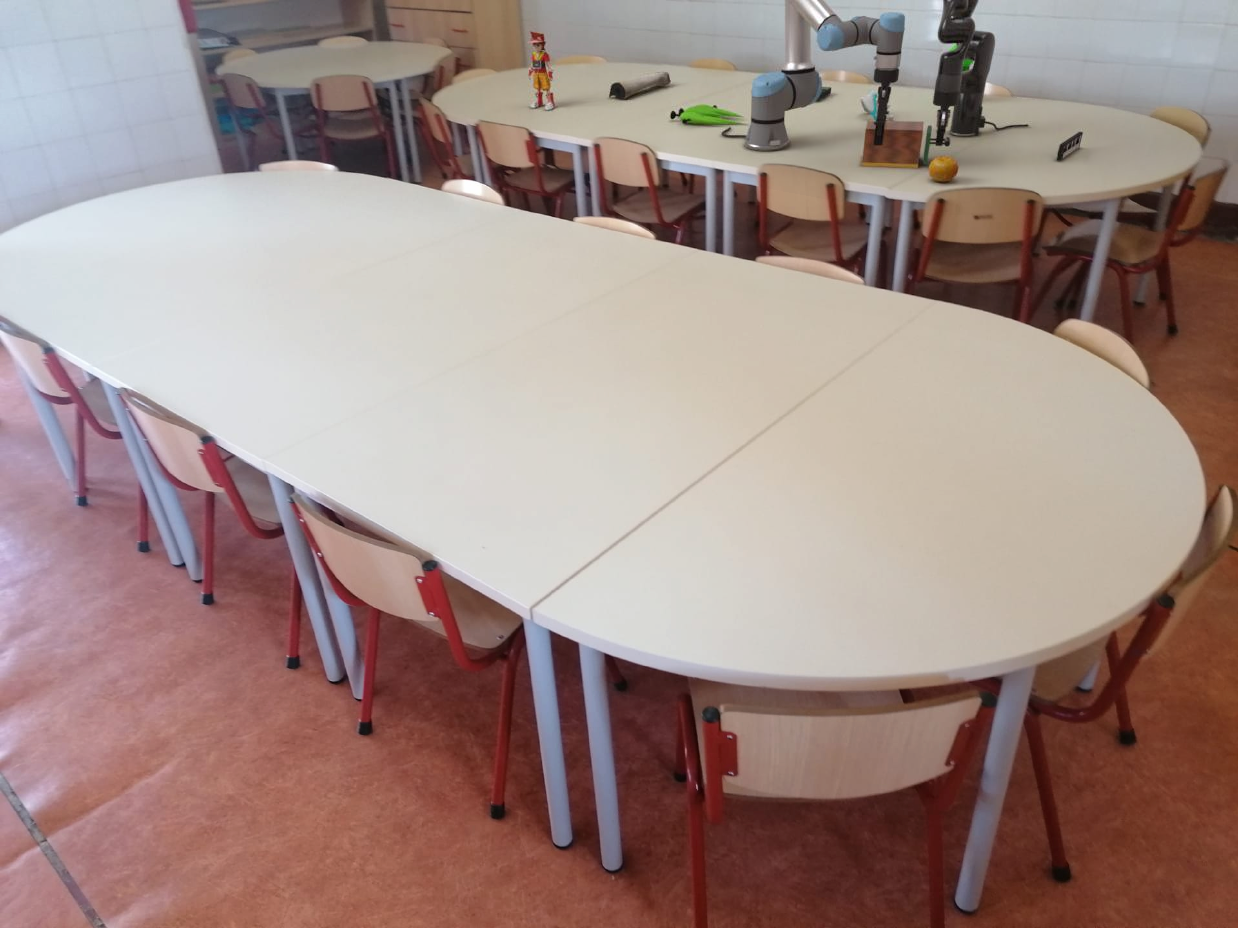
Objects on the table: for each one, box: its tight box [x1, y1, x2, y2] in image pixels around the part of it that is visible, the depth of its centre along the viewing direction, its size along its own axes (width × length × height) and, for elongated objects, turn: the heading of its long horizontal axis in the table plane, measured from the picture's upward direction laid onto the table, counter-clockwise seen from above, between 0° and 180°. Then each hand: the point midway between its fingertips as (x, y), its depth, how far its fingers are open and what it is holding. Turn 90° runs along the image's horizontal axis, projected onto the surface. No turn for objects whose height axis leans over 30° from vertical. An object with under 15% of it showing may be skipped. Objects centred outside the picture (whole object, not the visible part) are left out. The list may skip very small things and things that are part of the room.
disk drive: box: [815, 86, 832, 102], centre depth 372 cm, size 10×3×15 cm
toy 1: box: [527, 31, 556, 111], centre depth 374 cm, size 12×9×30 cm
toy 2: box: [669, 104, 746, 125], centre depth 349 cm, size 28×5×30 cm
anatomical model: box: [860, 90, 895, 121], centre depth 340 cm, size 15×10×10 cm
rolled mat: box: [608, 71, 672, 101], centre depth 395 cm, size 30×9×10 cm
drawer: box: [919, 125, 951, 165], centre depth 291 cm, size 23×9×10 cm, turn 73°
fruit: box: [928, 155, 959, 183], centre depth 276 cm, size 8×8×8 cm
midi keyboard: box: [1056, 131, 1084, 161], centre depth 291 cm, size 18×1×5 cm, turn 138°
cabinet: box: [861, 119, 925, 169], centre depth 293 cm, size 18×10×12 cm, turn 73°
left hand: (878, 140), depth 293 cm, fingers closed on cabinet, 10 cm apart
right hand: (938, 145), depth 289 cm, fingers closed
